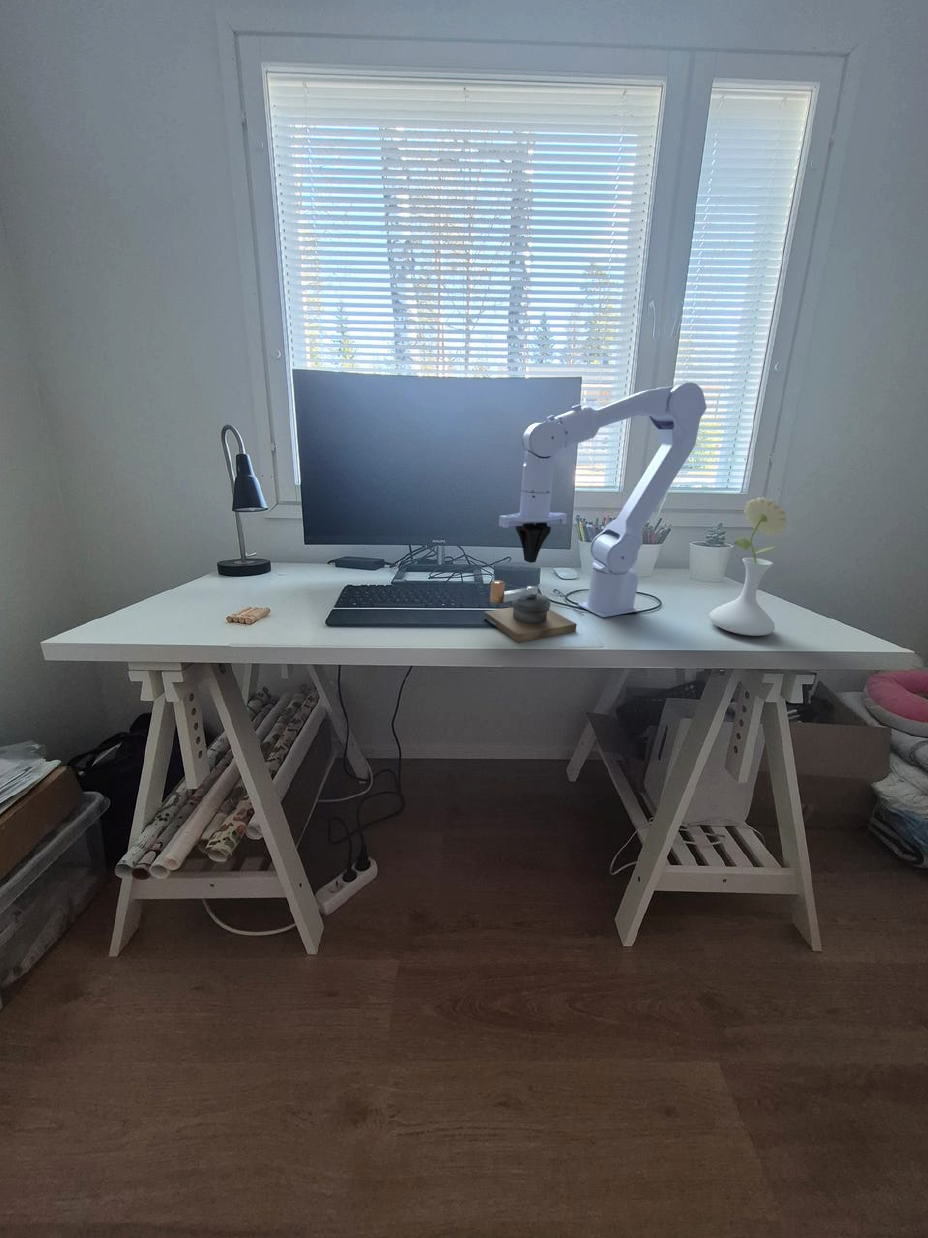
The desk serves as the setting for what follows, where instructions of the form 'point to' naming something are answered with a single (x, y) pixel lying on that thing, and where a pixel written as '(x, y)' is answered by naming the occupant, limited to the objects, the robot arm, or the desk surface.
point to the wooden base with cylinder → (530, 619)
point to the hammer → (510, 593)
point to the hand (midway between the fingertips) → (529, 561)
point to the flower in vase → (752, 575)
